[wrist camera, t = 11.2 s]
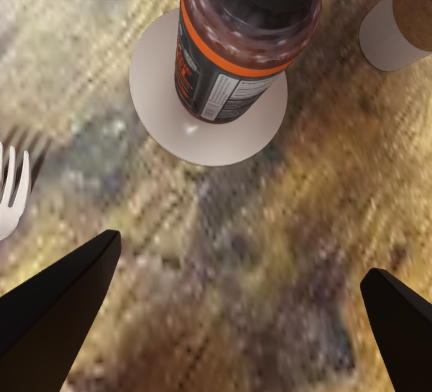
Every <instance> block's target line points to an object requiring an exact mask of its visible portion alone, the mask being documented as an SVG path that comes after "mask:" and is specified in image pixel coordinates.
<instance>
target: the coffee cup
mask: <svg viewBox="0 0 432 392" xmlns="http://www.w3.org/2000/svg"><path fill="white" fill-rule="evenodd" d="M359 41H360V46H361V49H362V52H363V54H364V56H365V57H366V59H367V60H368V61H369V62H370V63H371V64H372V65H373V66H374V67H376V68H377V69H380V70H382V71H395V70H398V69H400V68H403V67H405V66H407V65H409V64H411V63H413V62H415V61H417V60H419V59H421V58H423V57H425V56H428V55H430V54H432V0H381V1H380V2H379V3H378V4H377V5H376V6H375V7H374V8H373V9H372V10H371V11H370V12H369V13H368V14H367V16H366V17H365V18H364V20H363V21H362V24H361V26H360V31H359Z"/></svg>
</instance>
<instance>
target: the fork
mask: <svg viewBox="0 0 432 392" xmlns="http://www.w3.org/2000/svg"><path fill="white" fill-rule="evenodd" d="M3 178H4V149H3V143H2V142H0V192H1V189H2V186H3ZM15 180H16V150H15V147H14V146H11V147H10V159H9V168H8V176H7V181H6V186H5V191H4V195H3V199H2V202H1V204H0V240H2V239H4V238H6V237H7V236H8V235H10V234H11V233H12V232H13V230H14V229H15V228H16V226H17V224H18V221H19V217H20V216H21V215H22V213H23V211H24V209H25V207H26V204H27V202H28V199H29V197H30V194H31V166H30V158H29V153H28V151H24V161H23V169H22V175H21V180H20V184H19V188H18V192H17V195H16V198H15V201H14V204H13V206H12V207H9V206H8V204H9V202H10V199H11V197H12V194H13V192H14V189H15Z"/></svg>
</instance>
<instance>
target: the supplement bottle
mask: <svg viewBox="0 0 432 392" xmlns="http://www.w3.org/2000/svg"><path fill="white" fill-rule="evenodd" d="M321 7H322V0H180V10H179V24H178V36H177V48H176V60H175V73H174V81H175V88H176V92H177V95H178V97H179V100H180V101H181V103H182V105H183V106H184V107H185V109H186V110H187V111H188V112H189V113H190V114H191V115H192V116H194V117H195V118H197V119H199V120H201V121H203V122H206V123H210V124H226V123H229V122H232V121H234V120H236V119H238V118H239V117H240V116H242V115H243V114H244V113H245V112H246V111H247V110H248V109H249V108H250V107H251V106H252V105H253V104H254V103H255V102H256V100H257V99H258V98H259V97H260V96H261V95H262V94H263V93H264V92H265V91H266V90H267V89H268V88H269V87H270V85H271V84H272V83H273V82H274V81H275V80H276V79H277V78H278V77H279V76H280V75H281V74H282V73H283V72H284V70H285V69H286V68H287V67H288V66H289V65H290V64H291V63H292V62H293V60H294V59H295V58H296V57H297V56H298V55H299V54H300V53H301V52H302V50H303V49H304V48H305V47H306V45H307V44H308V42H309V41H310V39H311V38H312V36H313V34H314V32H315V30H316V28H317V25H318V21H319V18H320V13H321Z"/></svg>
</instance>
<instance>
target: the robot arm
mask: <svg viewBox="0 0 432 392" xmlns="http://www.w3.org/2000/svg"><path fill="white" fill-rule="evenodd" d="M120 254H121V234H120V232H119V231H117V230H110V229H108V230H105V231H104V232H102V233H101V234H99V235H97V236H96V237H94V238H93V239H91V240H90V241H88V242H86V243H85V244H83V245H82V246H80V247H78V248H77V249H75V250H74V251H72V252H71V253H69V254H67V255H66V256H64V257H63V258H61V259H60V260H58V261H56V262H55V263H53V264H52V265H50V266H49V267H47V268H45V269H44V270H42V271H41V272H39V273H38V274H36V275H34V276H33V277H31V278H30V279H28V280H26V281H25V282H23V283H22V284H20V285H19V286H17V287H15V288H14V289H12V290H11V291H9V292H8V293H6V294H4V295H3V296H1V297H0V392H60V389H61V387H62V385H63V383H64V381H65V379H66V377H67V375H68V373H69V371H70V369H71V367H72V365H73V363H74V361H75V359H76V357H77V354H78V352H79V350H80V348H81V346H82V344H83V342H84V340H85V338H86V336H87V334H88V332H89V330H90V328H91V326H92V324H93V322H94V319H95V317H96V315H97V313H98V311H99V309H100V307H101V305H102V303H103V301H104V299H105V296H106V294H107V291H108V288H109V285H110V283H111V280H112V277H113V274H114V271H115V268H116V266H117V263H118V260H119V257H120ZM360 290H361V293H362V297H363V300H364V304H365V307H366V311H367V315H368V318H369V322H370V325H371V329H372V332H373V334H374V337H375V340H376V343H377V345H378V348H379V350H380V353H381V356H382V358H383V361H384V364H385V366H386V369H387V371H388V374H389V377H390V379H391V382H392V384H393V387H394V390H395V392H432V304H431V303H429V302H428V301H427V300H425V299H424V298H423V297H421V296H420V295H419V294H417V293H416V292H414V291H413V290H412V289H410V288H409V287H408V286H406V285H405V284H404V283H402V282H401V281H400V280H398V279H397V278H396V277H394V276H393V275H392V274H390V273H389V272H388V271H386V270H384V269H379V268H371V269H370V270H369V271H368V273H367V274H366V275H365V277H364V278H363V280H362V281H361V283H360Z"/></svg>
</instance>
